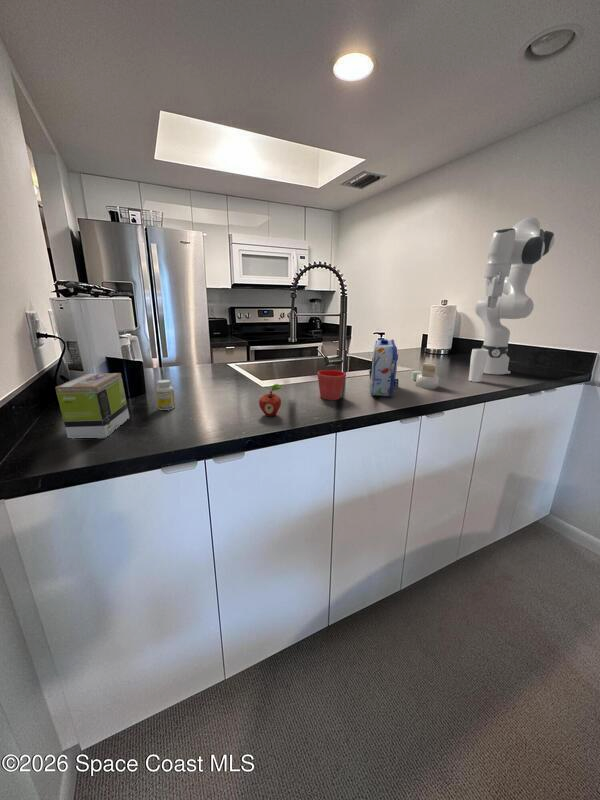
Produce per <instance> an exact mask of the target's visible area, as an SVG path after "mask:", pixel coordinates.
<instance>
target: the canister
mask: <svg viewBox="0 0 600 800" xmlns="http://www.w3.org/2000/svg"><path fill="white" fill-rule="evenodd" d="M439 379H440V376H439V375H437V374H434V377H424V376H422V373H421V374H417V379H416V381H415V386H416V387H417V386H418V387H417V388H419V387H421V388H420V389H424V388H425V390H436V389H438V385H439ZM435 388H436V389H435Z"/></svg>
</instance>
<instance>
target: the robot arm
mask: <svg viewBox="0 0 600 800" xmlns="http://www.w3.org/2000/svg"><path fill="white" fill-rule="evenodd" d="M554 244H555V234H554V232H553V231H549V230H545V231H544V229H542V228H541V222H540V221H539V219H538V218H537V217H534V216H532V217H531V216H530V217H529V216H528V217H524V219H521V220H520V221H518V222H517V223H516V224H514V225H513V226H512V228H503V229H497V230H495V231H494V232H493V234H492V236H491V239H490V243H489V247H488V253H487V262H486V265H485V272H484V276H483V277H484V278H485V279H486V280H485V281H486V282H485V297H480V298H479V299H478V301H477V302H476V303H475V306H474V310H475V311H474V313H475V314H476V315H477V317H478V318H480V319H481V321H482V323H483V325H484V339H483V344H482V346H481V348H480V349H486V350H489V351H488V358H487V362H486V365H485V368H484V372H483V374H487V375H507V374H508V375H509V374H511V371H510V370H509V369H508V368H509V362H510V357H509V356H508V355H507V353H508V351H509V346H508V345H509V341H510V336H511V331H510V329H509V328H508V327H507V326H505V325H503V324H502V322H501V319H504V320H506V319H507V320H519V319H526V318H527V317H529V316H530V315H531V314H532V312H533V311H534V307H535V304H534V302H533V299H532V298H531V297H530V296H528V294H526V286H527V283H528V280H529V278H530V276H531V272H532V269H533V265H535V264H536V263H538V262H539V261H540V260H541V259H542V257H544V256H546V254H548V253H549V252H550V250H551V249H552V248H553V246H554ZM503 294H504V295H503Z"/></svg>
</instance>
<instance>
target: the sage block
mask: <svg viewBox="0 0 600 800" xmlns="http://www.w3.org/2000/svg"><path fill="white" fill-rule="evenodd" d="M421 373H422V371H420V370H411V373H410V380H411V381H413V380H416V379H417V374H421Z"/></svg>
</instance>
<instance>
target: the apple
mask: <svg viewBox="0 0 600 800" xmlns="http://www.w3.org/2000/svg"><path fill="white" fill-rule="evenodd" d="M281 388H282V384H278V383H273V385H272V386H271V390H270V391H269V393H267V394H263V395H262V396H261V397H260V398H259V401H258V405H259V408H260V409H261V411H262V413H264V415H265V416H267V417H275V416H276V415H277V414H278V412H279V410H280V408H281V405H282V401H281V397H280V396H279V395H278V394H276V393H273V391H277V390H280V389H281ZM274 415H275V416H274Z"/></svg>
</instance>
